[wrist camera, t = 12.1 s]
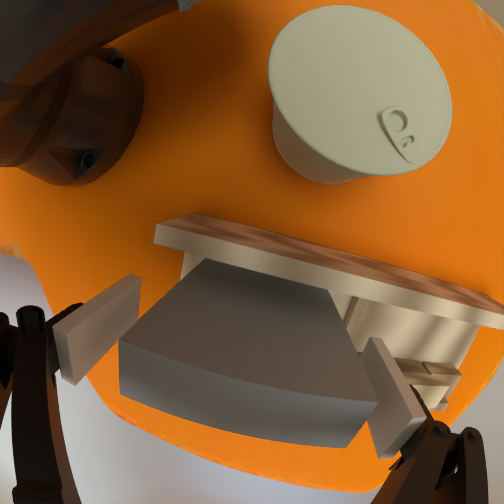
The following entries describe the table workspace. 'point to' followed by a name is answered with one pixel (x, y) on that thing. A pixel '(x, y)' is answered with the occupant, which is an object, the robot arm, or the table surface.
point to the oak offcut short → (444, 374)
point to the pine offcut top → (428, 387)
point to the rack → (348, 288)
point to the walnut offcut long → (408, 365)
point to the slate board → (249, 358)
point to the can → (355, 96)
